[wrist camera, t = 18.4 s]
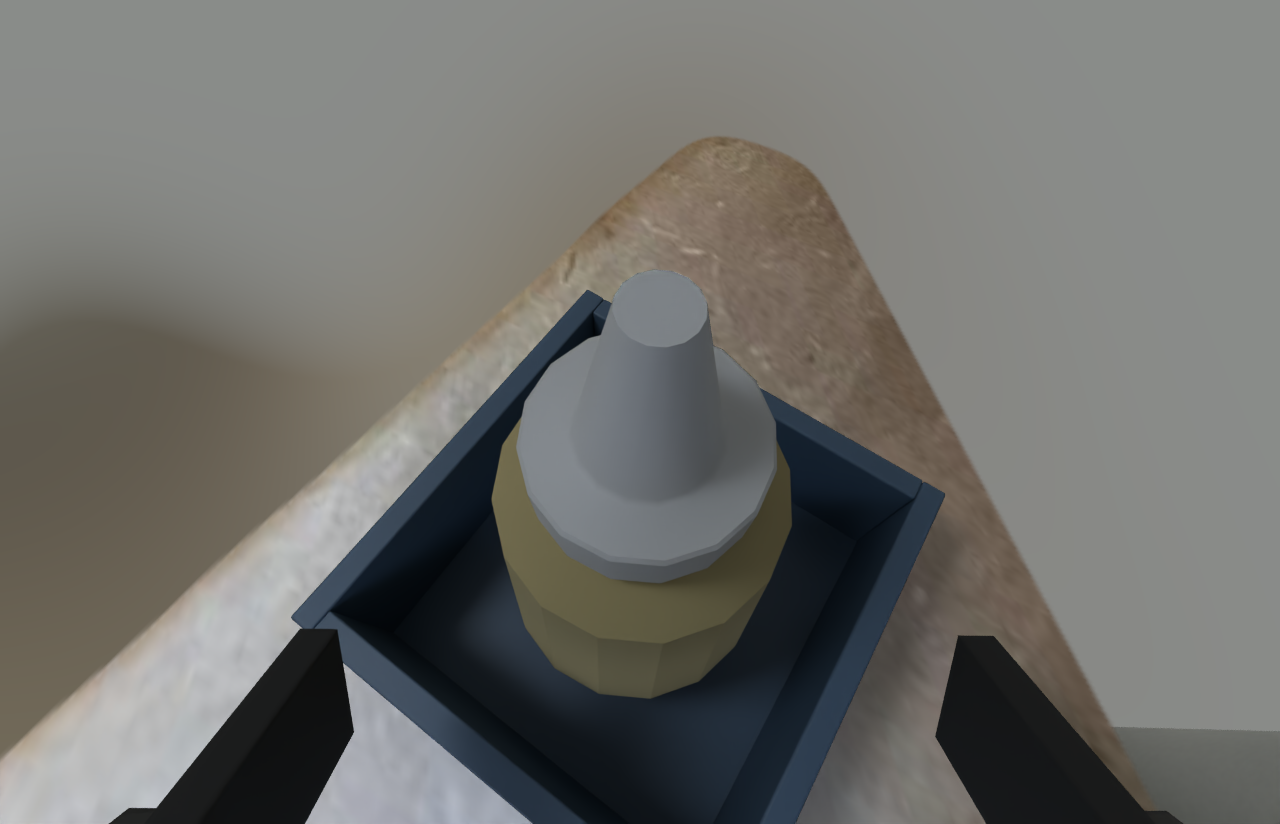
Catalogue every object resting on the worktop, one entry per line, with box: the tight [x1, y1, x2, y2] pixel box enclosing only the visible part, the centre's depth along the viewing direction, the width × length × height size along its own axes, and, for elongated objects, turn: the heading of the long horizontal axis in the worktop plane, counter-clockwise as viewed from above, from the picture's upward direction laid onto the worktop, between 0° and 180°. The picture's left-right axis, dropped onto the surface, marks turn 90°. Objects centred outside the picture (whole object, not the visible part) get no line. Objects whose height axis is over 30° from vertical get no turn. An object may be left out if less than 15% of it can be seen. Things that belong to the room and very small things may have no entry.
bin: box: [291, 290, 945, 824], centre depth 21 cm, size 15×15×6 cm
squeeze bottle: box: [491, 270, 792, 699], centre depth 15 cm, size 8×8×18 cm
